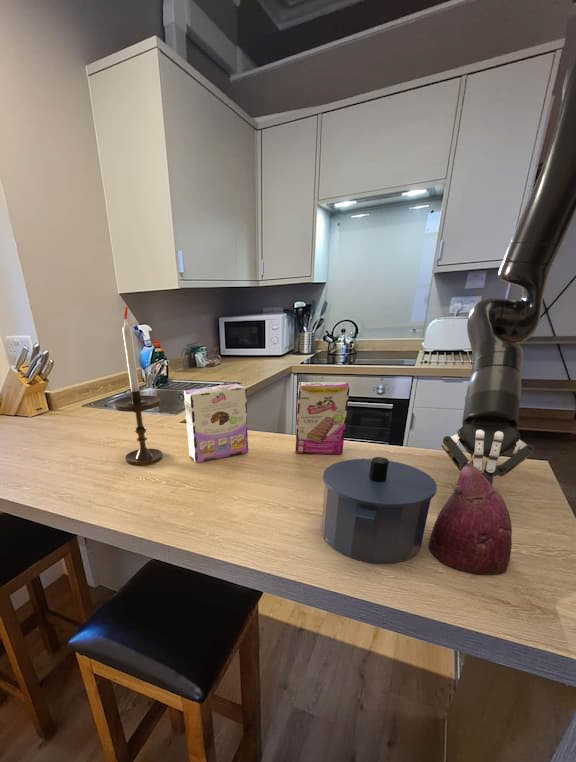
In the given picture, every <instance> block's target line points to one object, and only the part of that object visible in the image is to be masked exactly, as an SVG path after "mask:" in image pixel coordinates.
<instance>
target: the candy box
mask: <svg viewBox="0 0 576 762" xmlns="http://www.w3.org/2000/svg"><path fill="white" fill-rule="evenodd" d="M247 400H248V399H247V386H244V385H243V384H239V383H230V384H222V385H216V386H209V387H200V388H194V389H186V390H183V401H184V411H185V425H186V434H187V435H186V436H187V447H188V455H189V457H190V458H191V459H192V461H193V462H194V463H195V464H199V463H203V462H207V461H213V460H214V461H215V460H218V459H223V458H228V457H233V456H238V455H243V454H248V453H249V436H248V433H249V432H248V405H247V404H248V403H247Z"/></svg>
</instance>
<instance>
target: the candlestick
mask: <svg viewBox="0 0 576 762" xmlns="http://www.w3.org/2000/svg"><path fill="white" fill-rule="evenodd" d="M125 305H126V306H125V308H124V312H123V319H124V324H123V327H122V328H121V329H122V336H123V342H124V350H125V357H126V365H127V371H128V378H129V386H130V388H128V389H126V390H125V392H129V393H130V395H131V396H125V397H121V398H118V399H116V400H114V401H113V403H112V406H113V410H115V411H118V412H125V413H126V412H127V413H128V412H130V413H134V414H135V421H136V427H135V428H134V432H135V433H136V434H137V438H136V441H137V442H139V449H135V450H132V451H130V452H128V453H127V454H126V455H125V462H126V464H128V465H131V466H138V467H139V466H150V465H154V464H157V463H158V462H161V460H163V456H164V455H163V452H162V451H161V450H160V449H157V448H147V445H146V441H147V440H148V438H147V436H146V435H145V434H146V432H147V427H146V426H144V424H143V415H142V412H144V411H148V410H153V409H155V408H157V407H160V405H161V404H162V402H161V398H160V397H158V396H155V395H145V394H143V395H141V392H142V391H144V390H145V388H143V387H140V385H139V378H138V377H139V376H138V370H137V362H136V354H135V346H134V338H133V331H132V327H131V326H130V325H129V322H128V320H127V319H128V310H129V307H128V303H126V304H125Z"/></svg>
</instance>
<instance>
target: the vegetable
mask: <svg viewBox="0 0 576 762" xmlns="http://www.w3.org/2000/svg"><path fill="white" fill-rule="evenodd" d="M481 472H482V471H480V470H479V469H478V468H476V467H475V466H474V465H473V464H472V463H471V460H469V461H468V463H467V465H465V466H464V467H463V469H462V470H461V471H460V473H459V475H458V478H457V482H456V484H455V487H454V489H453V490H452V494H451V495H450V496H449V498H448V500H446V503H444V505H443V506H442V507H441V509H440V511H439V512H438V515H437V517H436V520H435V522H434V525H433V527H432V530H431V533H430V538H429V541H428V549H429V551H430V553H432V554H433V555H434V556H435V558H437V559H438V560H439V561H440V562H441V563H443V564H445V565H446V566H449V567H451V568H453V569H456V570H460V571H463V572H467V573H471V574H476V575H499V574H503V573H506V571H507V569H508V566H509V563H510V560H511V554H512V546H513V544H512V543H513V541H512V539H513V538H512V535H513V529H512V528H513V527H512V521H511V515H510V512H509V510H508V507H507V505H506V502H505V500H504V498H503V496H502V495H501V494H500V493H499V491H498V490H497V489H496V488H495V486H494V485H493V484H492V485H491V484H490V483H489V482H488V480H487V479H486V478H485V477H484V475H483V474H482V473H483V472H482V473H481Z"/></svg>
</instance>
